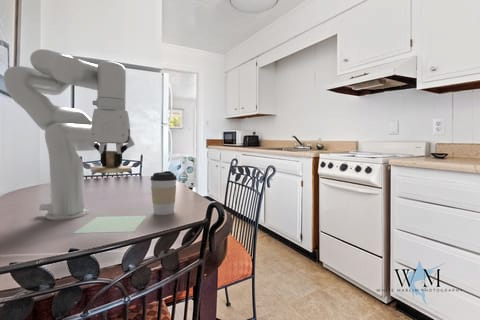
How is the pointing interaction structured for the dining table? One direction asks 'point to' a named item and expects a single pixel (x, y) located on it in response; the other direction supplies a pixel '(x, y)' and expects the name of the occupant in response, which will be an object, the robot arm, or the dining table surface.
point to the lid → (110, 165)
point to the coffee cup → (163, 192)
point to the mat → (112, 224)
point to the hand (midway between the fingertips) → (111, 165)
